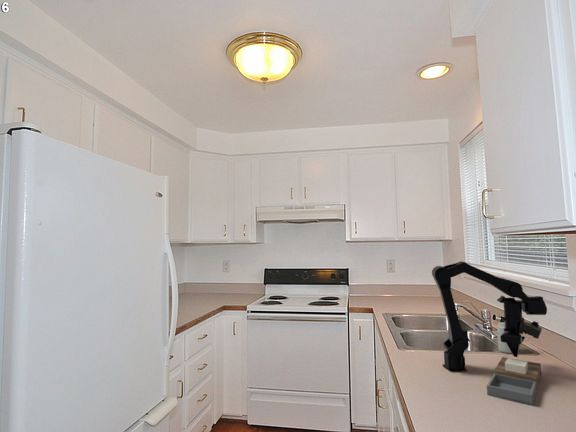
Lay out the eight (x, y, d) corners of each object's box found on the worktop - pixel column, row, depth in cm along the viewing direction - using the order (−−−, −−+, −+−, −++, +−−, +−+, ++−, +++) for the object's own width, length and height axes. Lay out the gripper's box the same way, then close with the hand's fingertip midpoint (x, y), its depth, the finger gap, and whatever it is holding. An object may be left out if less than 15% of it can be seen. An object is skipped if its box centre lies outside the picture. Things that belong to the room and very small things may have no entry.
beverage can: (518, 354, 149) (516, 325, 150) (502, 353, 150) (500, 325, 151) (512, 349, 155) (510, 321, 156) (496, 349, 157) (494, 321, 157)
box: (532, 405, 106) (531, 395, 106) (487, 394, 114) (486, 385, 114) (536, 391, 115) (535, 381, 116) (494, 382, 123) (494, 373, 123)
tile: (525, 374, 119) (525, 366, 119) (505, 370, 123) (504, 362, 123) (527, 368, 124) (527, 361, 124) (508, 365, 128) (507, 358, 128)
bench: (536, 390, 116) (535, 378, 116) (495, 381, 123) (494, 370, 124) (541, 374, 128) (540, 363, 128) (503, 367, 136) (502, 357, 136)
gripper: (536, 322, 120) (539, 369, 119) (541, 312, 134) (544, 353, 134) (499, 318, 127) (501, 362, 126) (507, 309, 142) (510, 348, 141)
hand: (515, 356), depth 132 cm, fingers closed
